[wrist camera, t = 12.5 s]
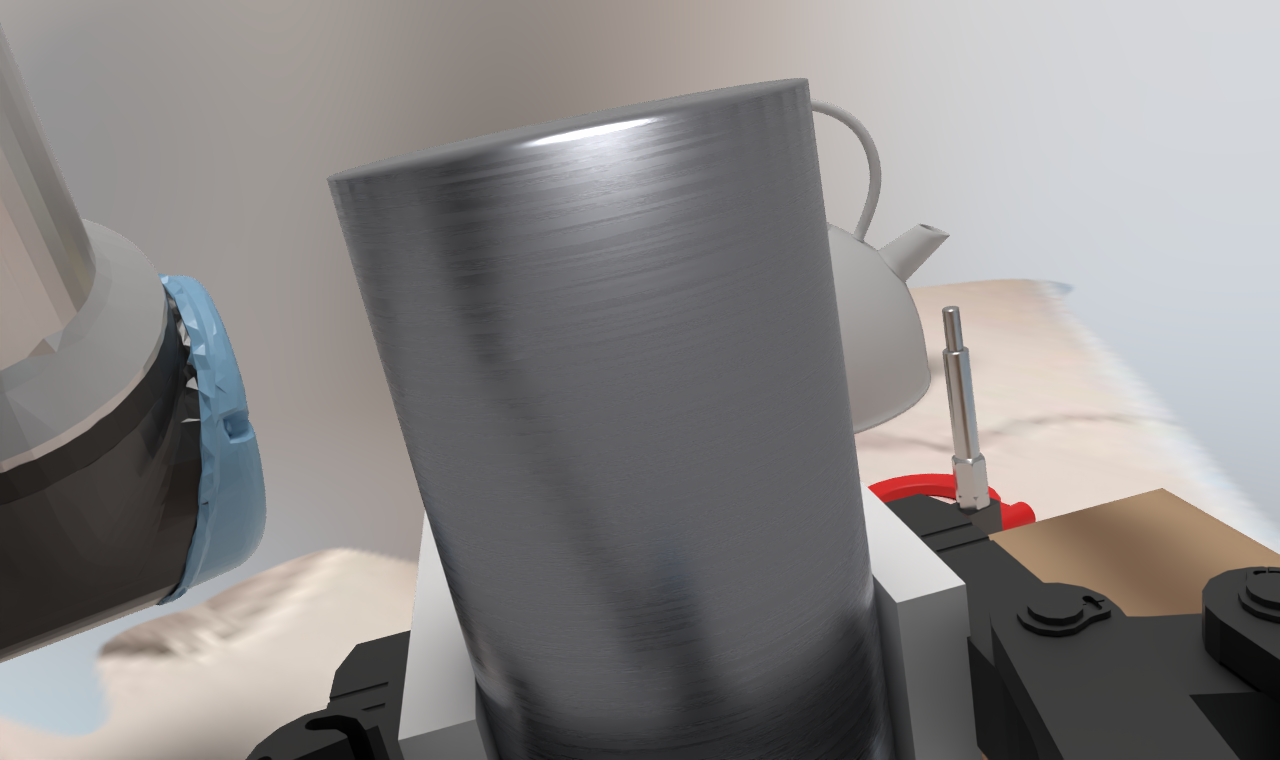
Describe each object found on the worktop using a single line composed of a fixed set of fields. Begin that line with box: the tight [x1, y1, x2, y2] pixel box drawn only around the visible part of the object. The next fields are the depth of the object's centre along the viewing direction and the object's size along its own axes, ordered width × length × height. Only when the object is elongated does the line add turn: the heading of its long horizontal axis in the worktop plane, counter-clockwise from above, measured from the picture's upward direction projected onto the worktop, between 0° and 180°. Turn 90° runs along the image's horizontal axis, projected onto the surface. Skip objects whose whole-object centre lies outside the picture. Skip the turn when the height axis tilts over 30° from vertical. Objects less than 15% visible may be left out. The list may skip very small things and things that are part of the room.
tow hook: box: [868, 306, 1036, 535], centre depth 49 cm, size 8×13×9 cm
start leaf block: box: [981, 488, 1280, 760], centre depth 29 cm, size 9×9×9 cm
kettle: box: [810, 99, 949, 434], centre depth 70 cm, size 25×23×23 cm
